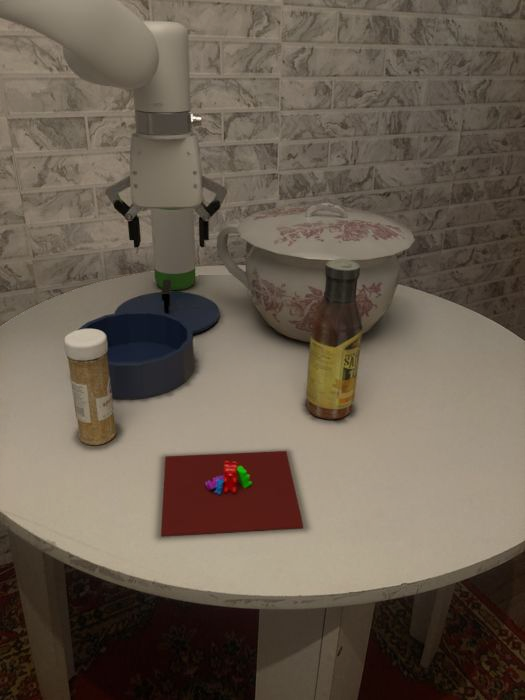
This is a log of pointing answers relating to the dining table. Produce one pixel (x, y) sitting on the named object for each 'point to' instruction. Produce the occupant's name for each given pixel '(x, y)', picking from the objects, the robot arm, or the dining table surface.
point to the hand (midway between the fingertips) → (169, 244)
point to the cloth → (228, 495)
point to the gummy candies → (229, 479)
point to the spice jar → (91, 385)
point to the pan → (145, 352)
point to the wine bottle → (173, 246)
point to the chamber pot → (315, 261)
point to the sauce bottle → (335, 344)
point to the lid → (176, 306)
